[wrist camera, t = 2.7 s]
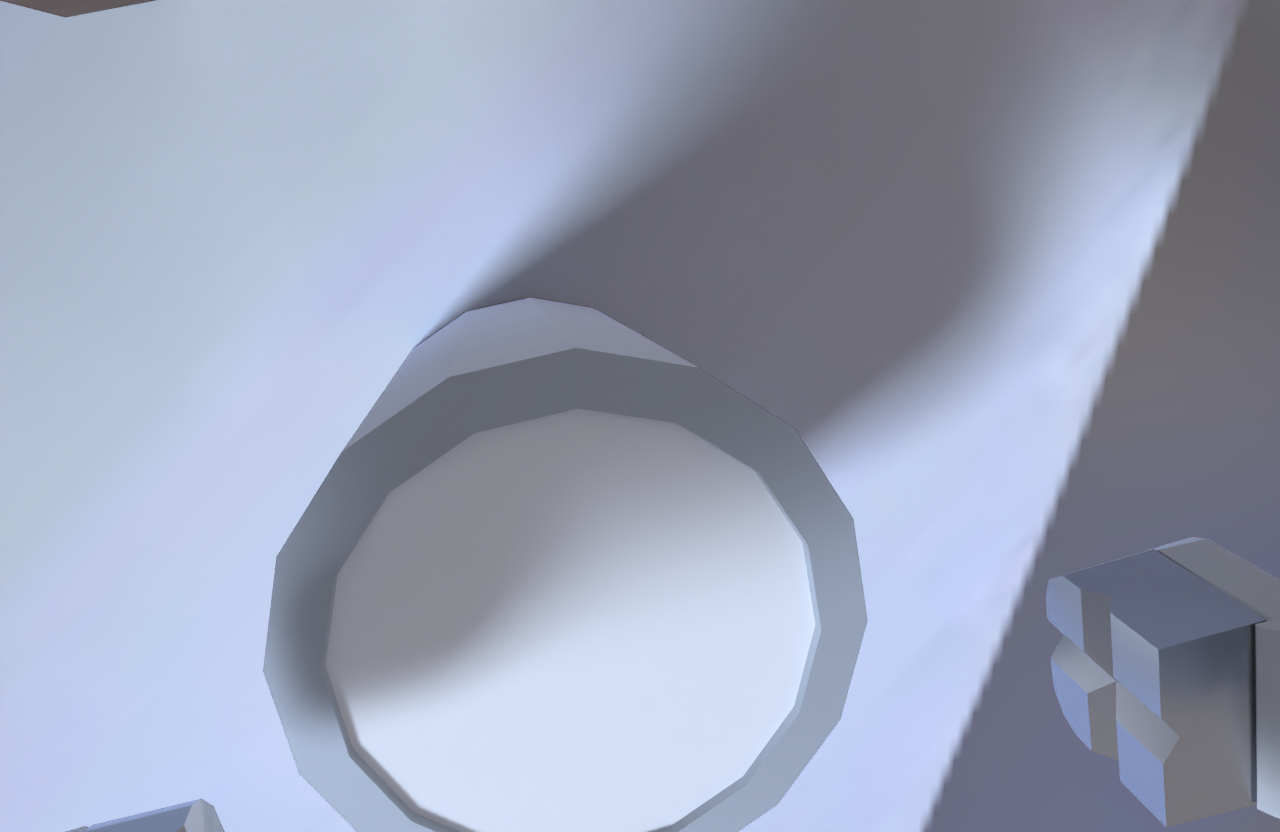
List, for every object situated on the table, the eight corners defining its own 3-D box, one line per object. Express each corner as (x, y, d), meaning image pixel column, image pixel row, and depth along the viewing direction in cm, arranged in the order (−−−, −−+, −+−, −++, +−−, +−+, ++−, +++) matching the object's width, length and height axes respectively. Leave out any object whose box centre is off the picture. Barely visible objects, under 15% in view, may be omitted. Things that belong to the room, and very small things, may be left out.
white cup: (315, 265, 17) (224, 362, 10) (727, 256, 18) (893, 339, 11) (348, 646, 18) (290, 940, 12) (718, 615, 20) (854, 870, 13)
